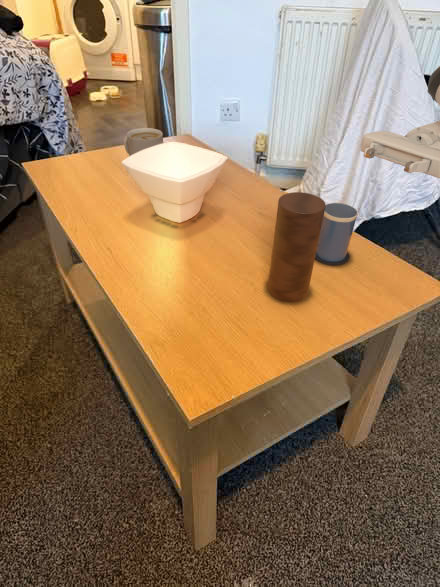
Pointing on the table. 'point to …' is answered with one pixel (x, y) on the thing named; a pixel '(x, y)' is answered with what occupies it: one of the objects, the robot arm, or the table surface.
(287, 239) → the stand
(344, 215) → the tumbler
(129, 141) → the coffee mug
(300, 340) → the table surface
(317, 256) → the coaster
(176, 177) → the bowl
